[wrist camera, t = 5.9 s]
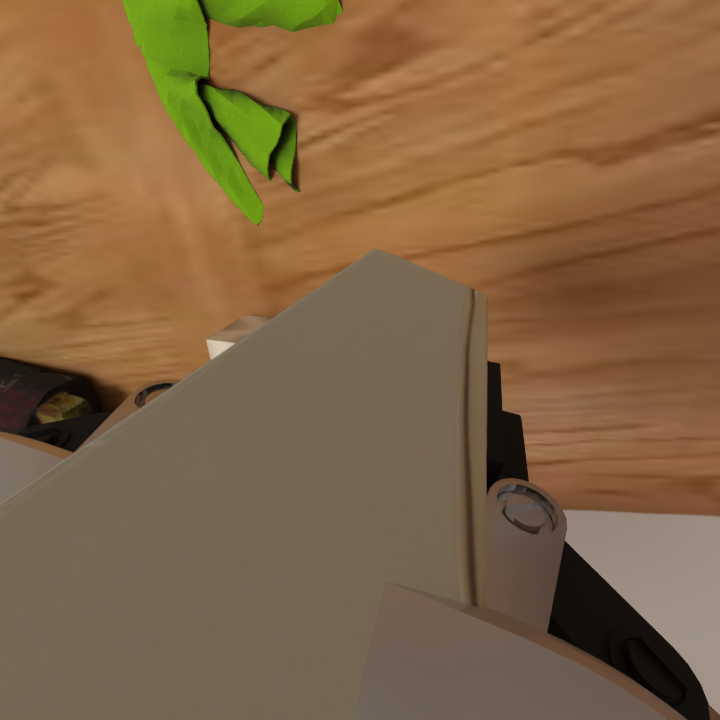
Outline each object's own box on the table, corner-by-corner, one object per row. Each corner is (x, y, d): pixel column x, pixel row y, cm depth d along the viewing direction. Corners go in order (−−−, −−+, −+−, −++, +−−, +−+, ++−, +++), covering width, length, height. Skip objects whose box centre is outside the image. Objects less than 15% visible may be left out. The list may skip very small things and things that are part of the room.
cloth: (115, -210, 21) (74, -253, 19) (468, -102, 18) (466, -136, 16) (128, 169, 31) (103, 169, 29) (352, 265, 29) (342, 272, 27)
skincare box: (419, 421, 15) (279, 975, 5) (323, 378, 15) (9, 803, 5) (493, 287, 12) (558, 1233, 1) (368, 236, 12) (-296, 667, 2)
